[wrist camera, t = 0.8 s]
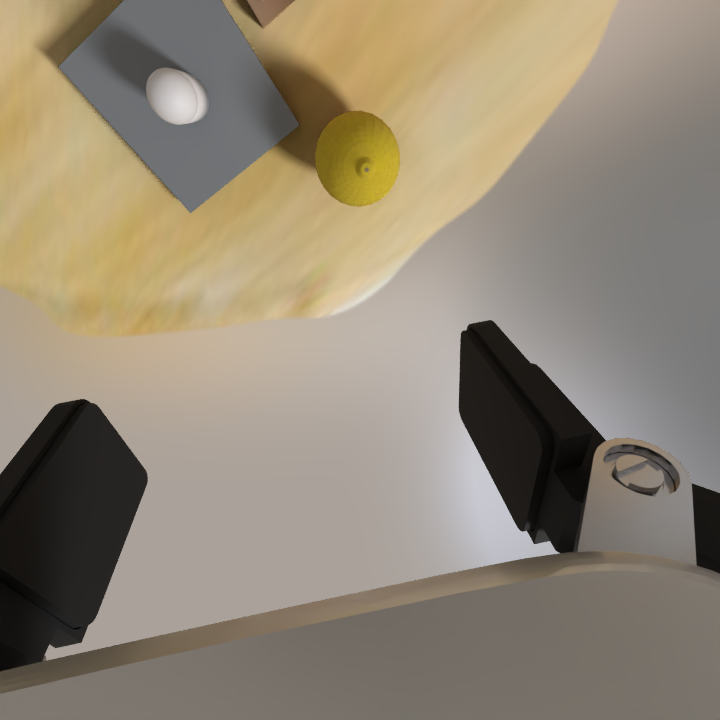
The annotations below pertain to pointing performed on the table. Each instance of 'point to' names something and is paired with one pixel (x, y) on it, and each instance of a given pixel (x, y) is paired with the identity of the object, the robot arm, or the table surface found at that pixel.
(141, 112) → the plate
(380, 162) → the lemon
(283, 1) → the stand
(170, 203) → the table surface
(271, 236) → the table surface
